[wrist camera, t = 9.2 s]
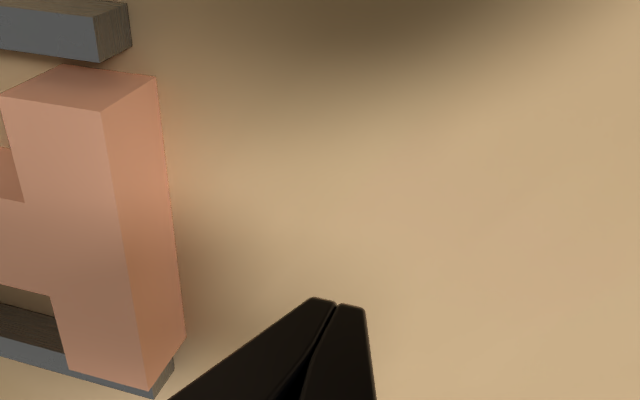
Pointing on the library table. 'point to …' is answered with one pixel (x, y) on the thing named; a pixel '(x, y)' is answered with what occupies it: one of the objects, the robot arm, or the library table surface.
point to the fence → (81, 44)
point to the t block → (93, 218)
